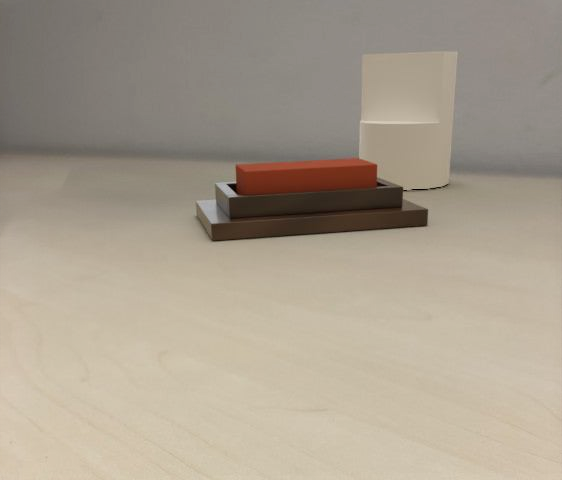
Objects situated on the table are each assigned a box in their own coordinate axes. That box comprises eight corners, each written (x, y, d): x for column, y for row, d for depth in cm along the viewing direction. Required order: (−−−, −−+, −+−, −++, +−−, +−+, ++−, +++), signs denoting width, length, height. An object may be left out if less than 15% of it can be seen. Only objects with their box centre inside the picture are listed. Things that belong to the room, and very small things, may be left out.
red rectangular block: (247, 213, 51) (245, 171, 50) (237, 203, 55) (235, 164, 54) (376, 205, 53) (377, 164, 52) (358, 196, 57) (358, 157, 56)
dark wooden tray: (212, 241, 49) (209, 201, 48) (196, 215, 58) (194, 181, 57) (427, 225, 52) (429, 188, 51) (381, 203, 61) (382, 171, 60)
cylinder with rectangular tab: (463, 180, 72) (473, 51, 67) (424, 193, 65) (432, 50, 60) (385, 175, 77) (390, 54, 72) (341, 186, 70) (343, 54, 65)
